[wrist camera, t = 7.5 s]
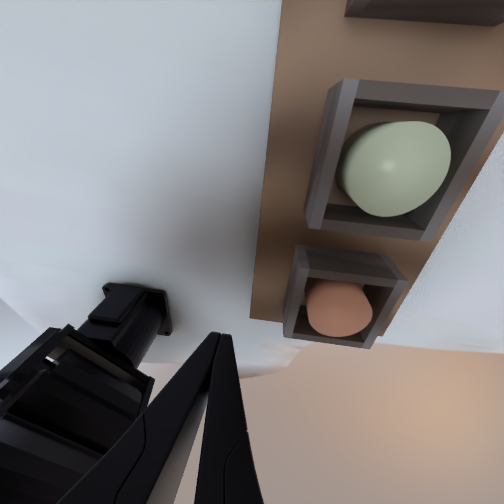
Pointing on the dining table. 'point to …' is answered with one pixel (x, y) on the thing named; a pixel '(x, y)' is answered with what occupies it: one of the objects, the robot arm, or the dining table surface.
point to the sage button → (393, 166)
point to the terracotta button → (336, 307)
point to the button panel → (353, 119)
